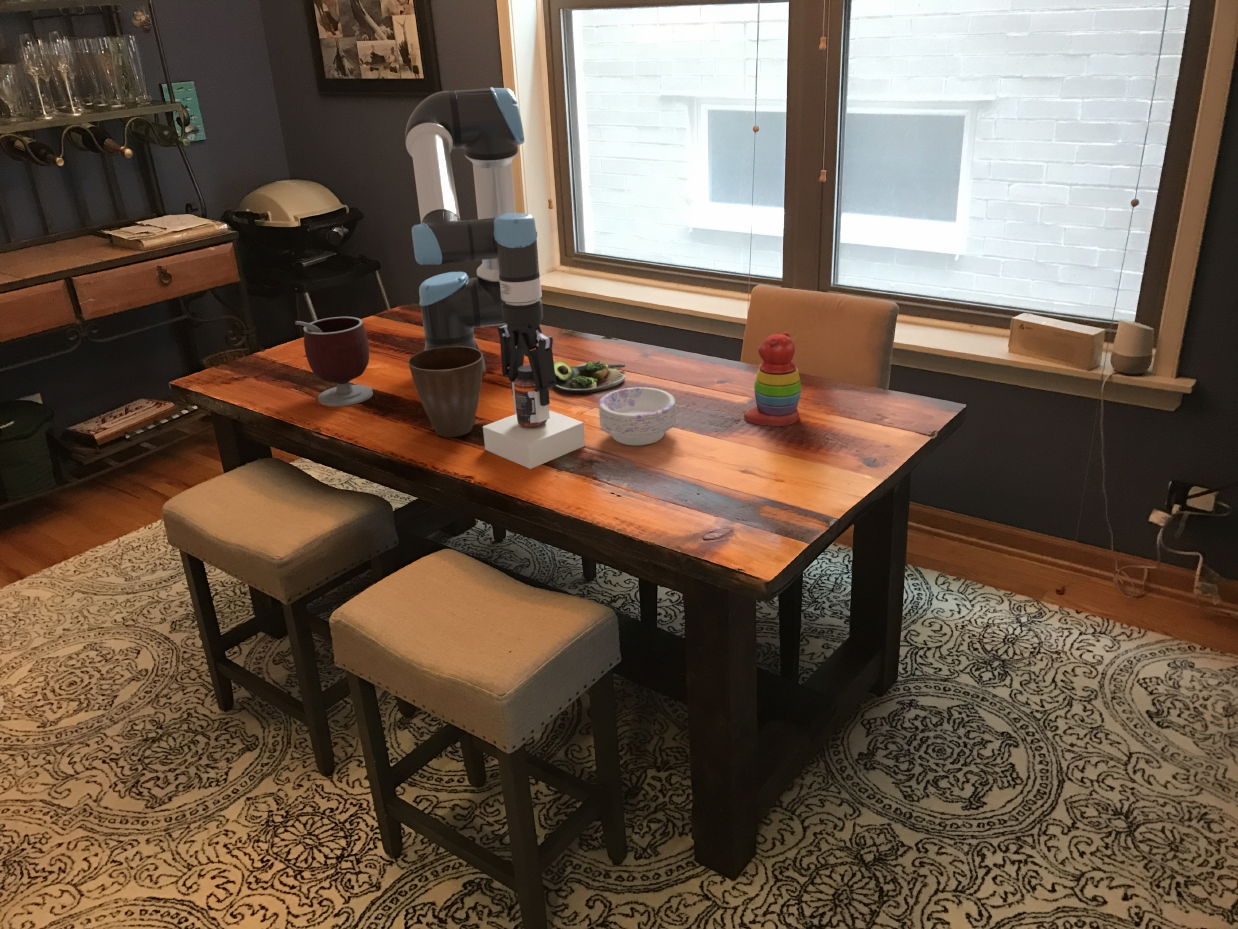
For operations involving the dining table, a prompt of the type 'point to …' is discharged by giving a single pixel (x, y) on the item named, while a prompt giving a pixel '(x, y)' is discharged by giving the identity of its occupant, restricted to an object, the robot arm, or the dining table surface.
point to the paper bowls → (637, 415)
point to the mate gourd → (338, 357)
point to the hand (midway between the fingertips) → (532, 415)
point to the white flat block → (534, 439)
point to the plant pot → (448, 386)
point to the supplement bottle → (526, 398)
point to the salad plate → (586, 377)
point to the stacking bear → (776, 384)
